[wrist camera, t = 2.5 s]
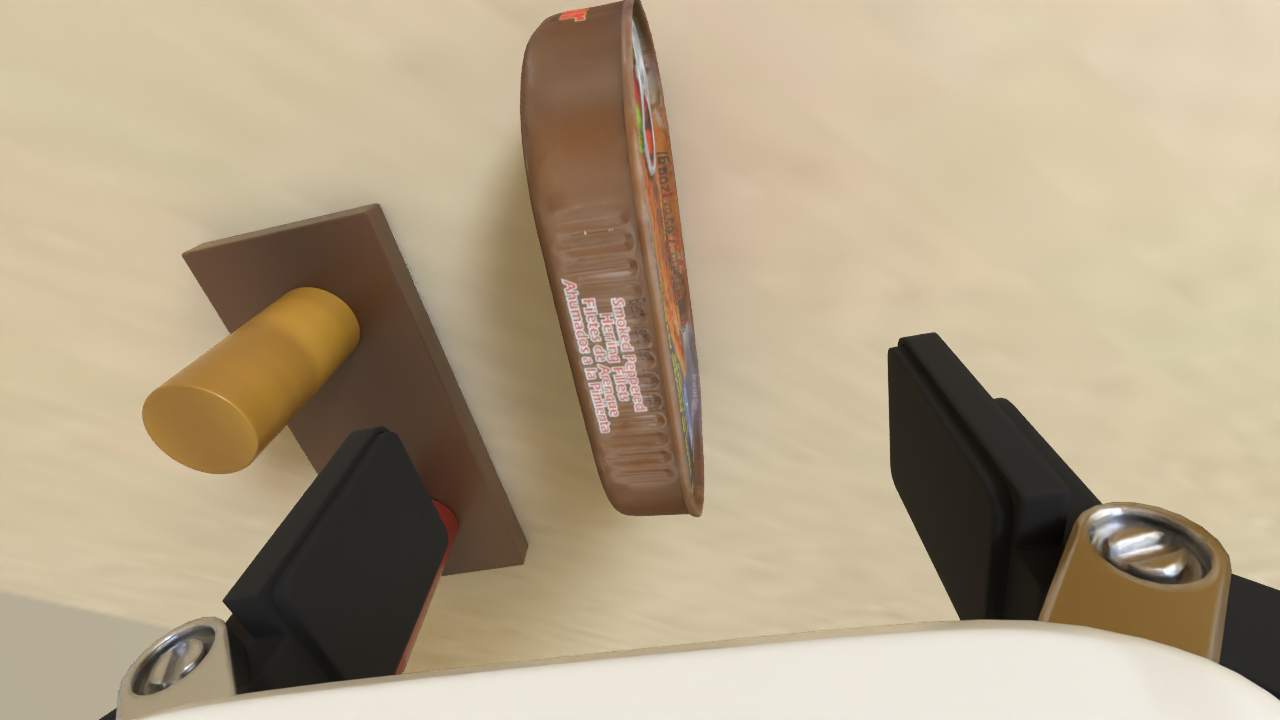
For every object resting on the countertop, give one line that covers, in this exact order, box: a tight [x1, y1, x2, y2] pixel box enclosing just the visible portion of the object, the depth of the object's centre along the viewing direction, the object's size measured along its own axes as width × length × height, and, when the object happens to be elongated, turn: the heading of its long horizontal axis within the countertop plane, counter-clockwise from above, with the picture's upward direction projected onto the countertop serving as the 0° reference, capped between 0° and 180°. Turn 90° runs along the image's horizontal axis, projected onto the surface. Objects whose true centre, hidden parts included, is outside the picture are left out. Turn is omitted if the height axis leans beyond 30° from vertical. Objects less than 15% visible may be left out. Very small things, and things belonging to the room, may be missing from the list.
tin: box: [520, 0, 704, 517], centre depth 18 cm, size 15×3×8 cm, turn 9°
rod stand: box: [142, 204, 528, 675], centre depth 22 cm, size 7×17×8 cm, turn 13°
